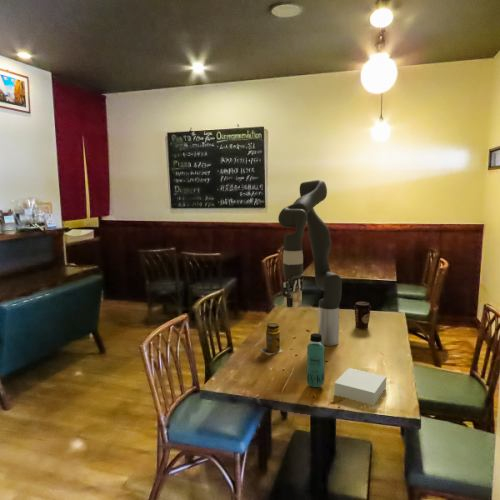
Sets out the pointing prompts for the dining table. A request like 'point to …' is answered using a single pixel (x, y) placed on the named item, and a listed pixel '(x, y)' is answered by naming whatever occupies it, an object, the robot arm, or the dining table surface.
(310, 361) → the beverage bottle
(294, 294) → the maple block
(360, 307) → the coffee cup
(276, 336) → the condiment
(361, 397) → the base block
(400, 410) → the dining table surface
